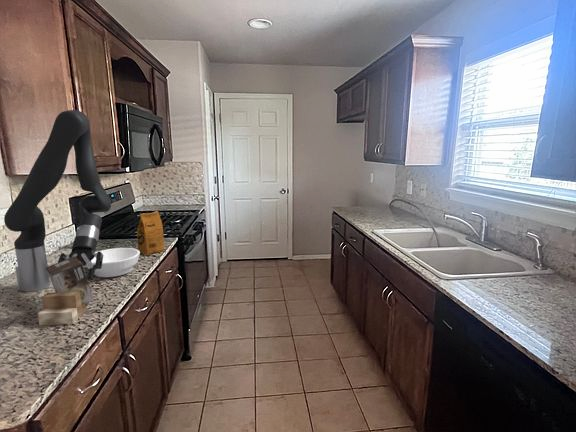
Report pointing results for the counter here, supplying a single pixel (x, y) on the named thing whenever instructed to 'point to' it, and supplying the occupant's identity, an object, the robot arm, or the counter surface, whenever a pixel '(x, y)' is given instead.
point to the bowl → (116, 261)
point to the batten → (57, 316)
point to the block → (64, 301)
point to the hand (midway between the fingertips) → (75, 280)
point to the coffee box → (70, 278)
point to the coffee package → (150, 233)
